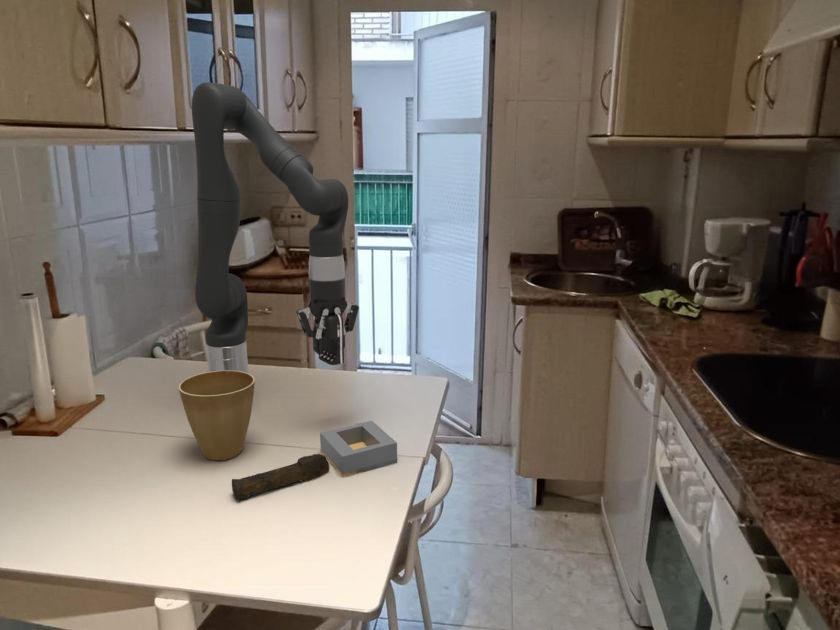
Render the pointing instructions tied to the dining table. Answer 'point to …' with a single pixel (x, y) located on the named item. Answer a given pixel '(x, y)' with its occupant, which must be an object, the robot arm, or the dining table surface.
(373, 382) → the dining table surface
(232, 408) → the plant pot
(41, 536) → the dining table surface
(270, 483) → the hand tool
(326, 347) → the battery charger
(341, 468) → the dock
